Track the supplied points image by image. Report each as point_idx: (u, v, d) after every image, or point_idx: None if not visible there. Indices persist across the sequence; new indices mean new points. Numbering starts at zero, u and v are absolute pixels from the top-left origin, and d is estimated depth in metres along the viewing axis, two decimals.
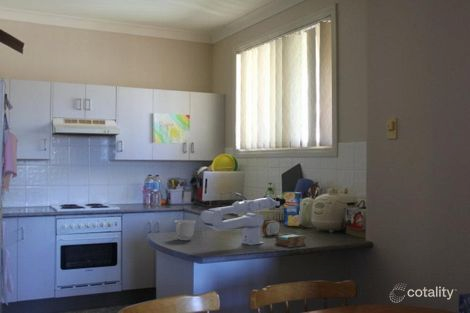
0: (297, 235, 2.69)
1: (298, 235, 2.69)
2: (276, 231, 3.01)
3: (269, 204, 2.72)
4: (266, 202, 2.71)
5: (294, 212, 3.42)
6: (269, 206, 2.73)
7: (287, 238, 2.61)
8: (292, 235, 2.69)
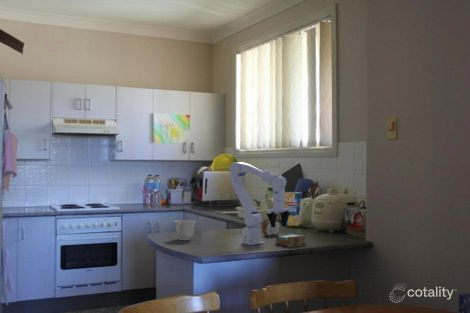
0: (297, 235, 2.69)
1: (298, 235, 2.69)
2: (276, 231, 3.01)
3: (274, 206, 2.60)
4: (276, 202, 2.59)
5: (294, 212, 3.42)
6: (273, 206, 2.61)
7: (287, 238, 2.61)
8: (292, 235, 2.69)
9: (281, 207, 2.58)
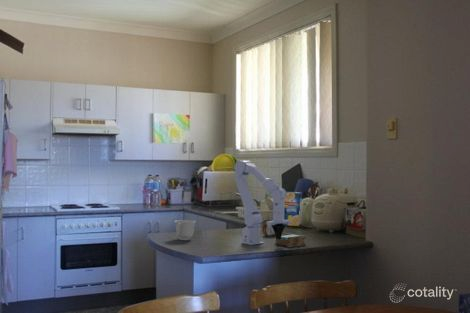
0: (297, 235, 2.69)
1: (298, 235, 2.69)
2: None
3: (273, 218, 2.60)
4: (275, 214, 2.59)
5: (294, 212, 3.42)
6: (273, 218, 2.61)
7: (287, 238, 2.61)
8: (292, 235, 2.69)
9: (281, 219, 2.58)
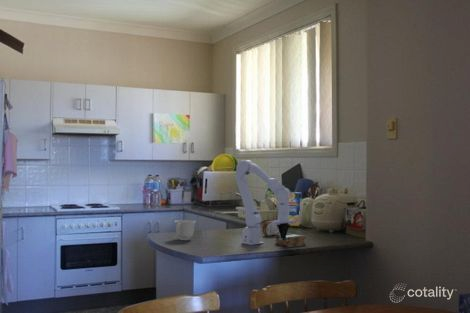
0: (298, 235, 2.70)
1: (299, 235, 2.70)
2: (276, 231, 3.01)
3: (278, 217, 2.62)
4: (280, 214, 2.61)
5: (294, 212, 3.42)
6: None
7: None
8: (293, 235, 2.69)
9: (286, 219, 2.61)
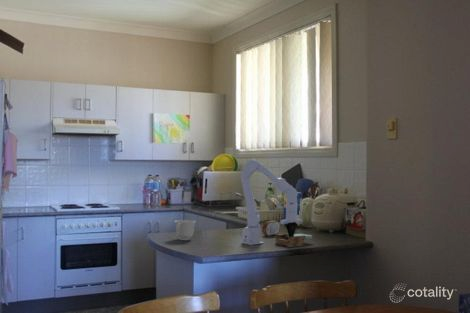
0: None
1: None
2: (276, 231, 3.01)
3: (286, 217, 2.65)
4: (288, 213, 2.64)
5: None
6: None
7: None
8: (301, 234, 2.73)
9: (294, 218, 2.64)
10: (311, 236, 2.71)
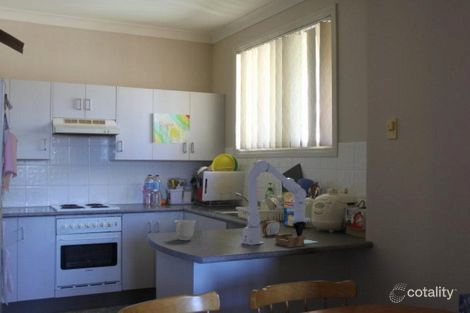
0: None
1: None
2: (276, 231, 3.01)
3: (295, 216, 2.69)
4: (297, 212, 2.68)
5: None
6: (294, 216, 2.71)
7: None
8: (306, 240, 2.76)
9: (302, 217, 2.68)
10: (317, 242, 2.73)
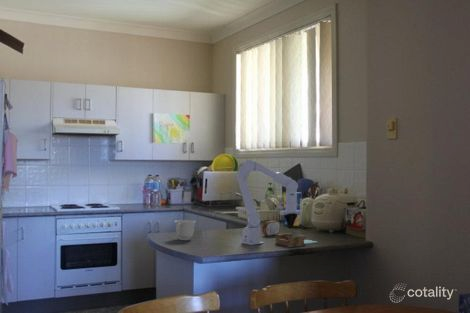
0: (311, 240, 2.76)
1: None
2: (276, 231, 3.01)
3: (286, 208, 2.69)
4: (288, 204, 2.68)
5: None
6: (285, 208, 2.70)
7: None
8: (306, 240, 2.76)
9: (293, 209, 2.68)
10: (317, 242, 2.74)
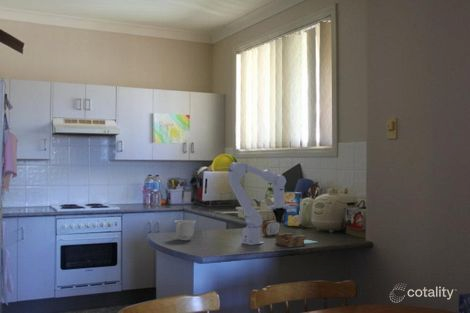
0: None
1: None
2: (276, 231, 3.01)
3: (274, 202, 2.74)
4: (276, 199, 2.73)
5: (294, 212, 3.42)
6: None
7: None
8: (306, 240, 2.76)
9: (281, 204, 2.72)
10: (317, 242, 2.74)
